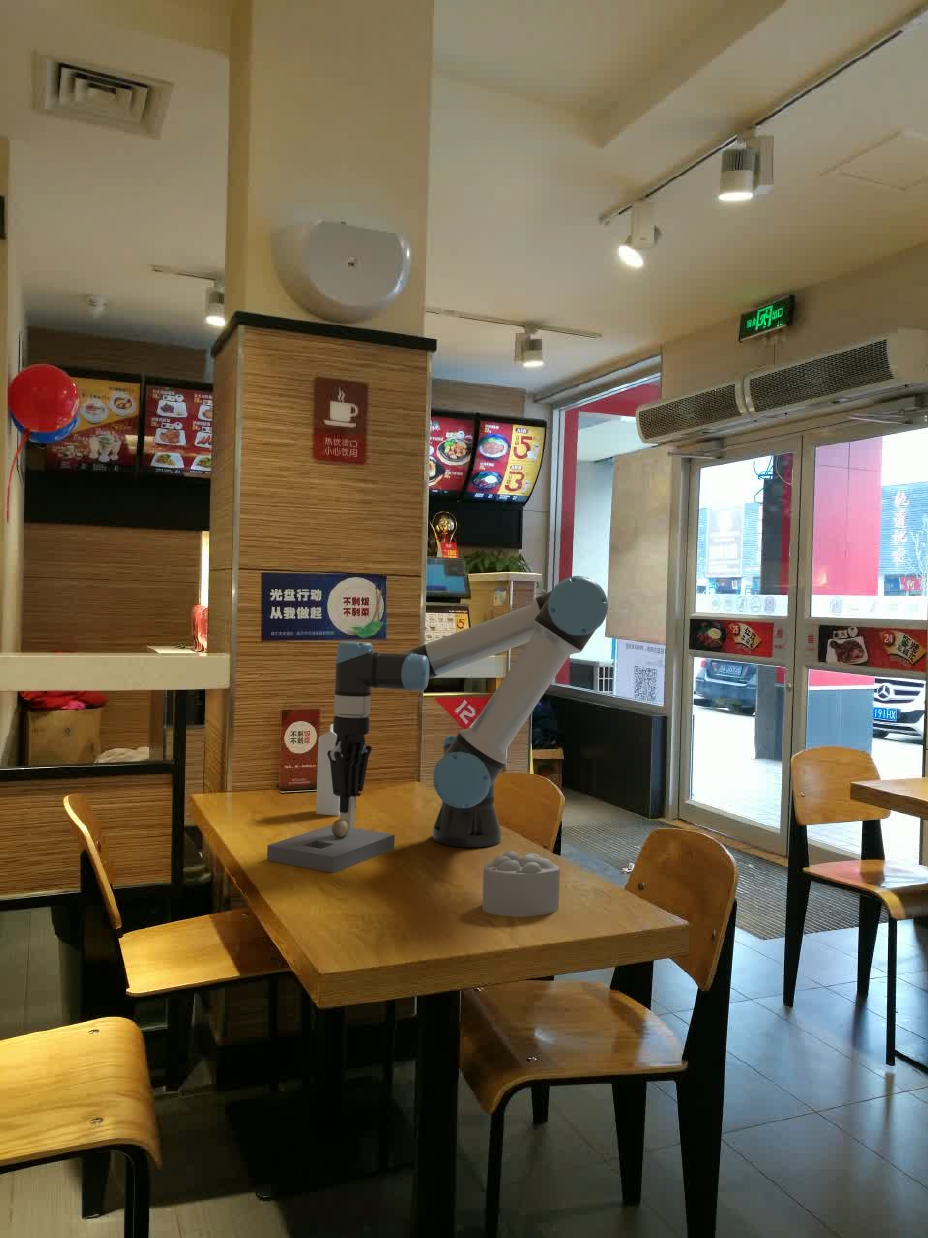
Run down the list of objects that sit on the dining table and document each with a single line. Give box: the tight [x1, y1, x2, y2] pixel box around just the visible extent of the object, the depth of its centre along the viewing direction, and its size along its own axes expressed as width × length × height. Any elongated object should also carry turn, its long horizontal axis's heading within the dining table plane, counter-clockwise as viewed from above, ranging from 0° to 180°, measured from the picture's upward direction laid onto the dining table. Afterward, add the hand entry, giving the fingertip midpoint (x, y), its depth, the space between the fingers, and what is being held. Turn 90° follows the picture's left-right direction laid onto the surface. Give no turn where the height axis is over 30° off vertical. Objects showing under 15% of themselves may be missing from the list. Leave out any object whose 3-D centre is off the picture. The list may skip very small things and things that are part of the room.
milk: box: [315, 723, 340, 817], centre depth 230 cm, size 6×6×22 cm
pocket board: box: [266, 823, 396, 874], centre depth 191 cm, size 16×22×3 cm
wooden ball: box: [331, 819, 349, 837], centre depth 194 cm, size 4×4×4 cm
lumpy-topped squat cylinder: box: [481, 850, 561, 918], centre depth 161 cm, size 10×13×9 cm
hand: (346, 827), depth 196 cm, fingers closed
